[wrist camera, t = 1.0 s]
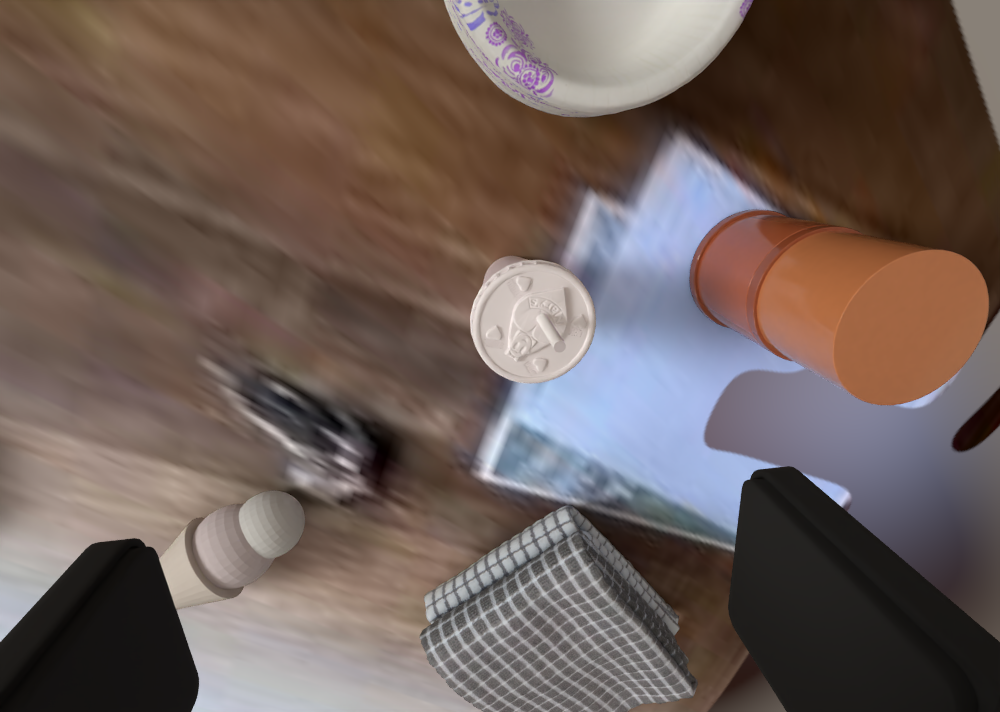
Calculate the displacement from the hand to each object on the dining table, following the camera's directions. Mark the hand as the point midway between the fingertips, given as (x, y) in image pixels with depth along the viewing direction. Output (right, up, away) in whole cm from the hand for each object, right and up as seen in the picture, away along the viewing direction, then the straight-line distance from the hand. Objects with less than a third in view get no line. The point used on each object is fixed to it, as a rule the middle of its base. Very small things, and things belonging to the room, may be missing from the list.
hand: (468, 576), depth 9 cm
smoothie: (+1, +9, +27) cm, 29 cm away
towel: (+5, -18, +38) cm, 42 cm away
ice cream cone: (-20, -10, +32) cm, 39 cm away
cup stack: (+18, +10, +29) cm, 35 cm away
